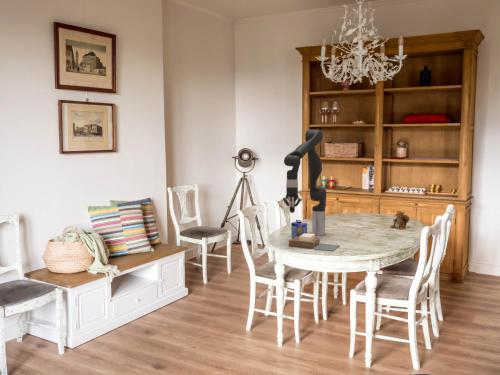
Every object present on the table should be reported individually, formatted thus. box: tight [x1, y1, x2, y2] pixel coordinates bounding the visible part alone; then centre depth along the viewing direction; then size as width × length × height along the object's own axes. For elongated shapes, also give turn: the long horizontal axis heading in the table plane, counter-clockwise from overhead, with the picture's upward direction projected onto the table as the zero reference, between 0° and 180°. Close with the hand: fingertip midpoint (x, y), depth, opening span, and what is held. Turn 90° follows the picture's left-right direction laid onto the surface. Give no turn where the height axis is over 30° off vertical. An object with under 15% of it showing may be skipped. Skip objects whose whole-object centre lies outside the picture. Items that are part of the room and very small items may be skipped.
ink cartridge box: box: [290, 219, 308, 240], centre depth 333 cm, size 10×6×14 cm, turn 51°
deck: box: [288, 236, 321, 250], centre depth 319 cm, size 14×16×4 cm
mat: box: [312, 242, 341, 252], centre depth 313 cm, size 15×13×1 cm
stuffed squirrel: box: [389, 210, 411, 231], centre depth 372 cm, size 10×14×13 cm
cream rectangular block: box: [299, 232, 316, 242], centre depth 318 cm, size 10×7×3 cm
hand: (292, 212), depth 321 cm, fingers closed
